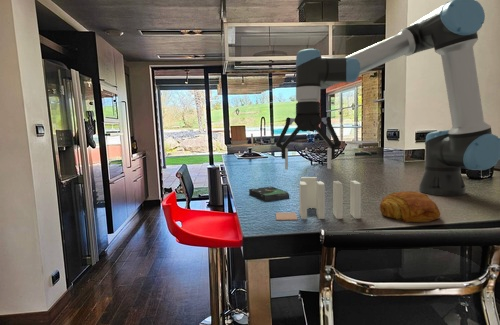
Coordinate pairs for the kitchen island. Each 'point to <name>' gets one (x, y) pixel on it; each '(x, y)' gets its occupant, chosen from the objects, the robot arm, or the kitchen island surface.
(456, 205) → the kitchen island surface
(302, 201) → the domino
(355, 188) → the domino
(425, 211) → the croissant
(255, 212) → the kitchen island surface
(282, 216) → the plate
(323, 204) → the domino
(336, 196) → the domino
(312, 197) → the domino
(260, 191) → the disk drive
